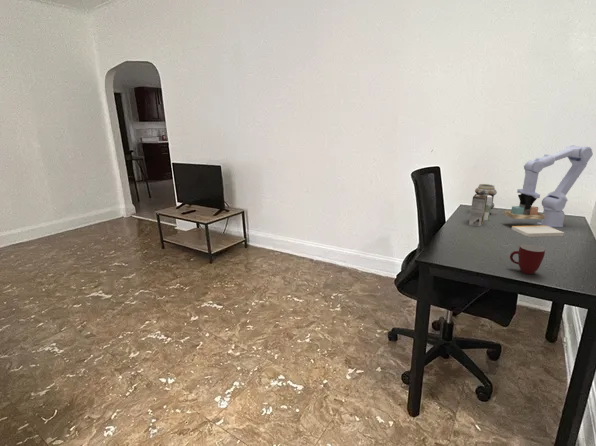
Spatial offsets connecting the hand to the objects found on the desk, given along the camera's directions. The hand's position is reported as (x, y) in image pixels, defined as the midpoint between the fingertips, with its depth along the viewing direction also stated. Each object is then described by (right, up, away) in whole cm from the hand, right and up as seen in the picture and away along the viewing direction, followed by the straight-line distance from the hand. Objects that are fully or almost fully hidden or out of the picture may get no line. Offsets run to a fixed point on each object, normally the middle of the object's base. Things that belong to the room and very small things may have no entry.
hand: (525, 208), depth 185 cm
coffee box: (-22, -9, +8) cm, 25 cm away
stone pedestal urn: (-8, -2, +29) cm, 30 cm away
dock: (+1, -13, -8) cm, 15 cm away
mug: (-35, -27, -52) cm, 68 cm away
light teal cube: (-4, -3, +1) cm, 5 cm away
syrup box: (-15, -6, +16) cm, 23 cm away
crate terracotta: (+4, -3, +1) cm, 5 cm away
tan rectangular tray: (0, -4, +1) cm, 5 cm away
